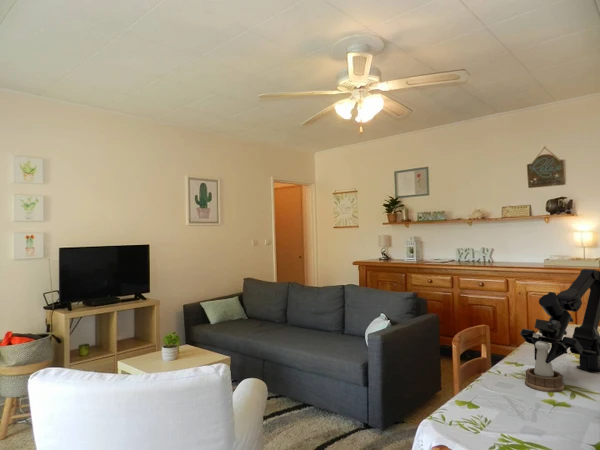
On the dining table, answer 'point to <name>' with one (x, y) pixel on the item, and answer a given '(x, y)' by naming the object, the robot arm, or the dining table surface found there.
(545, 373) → the salt shaker
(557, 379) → the collar stand
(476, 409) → the dining table surface
